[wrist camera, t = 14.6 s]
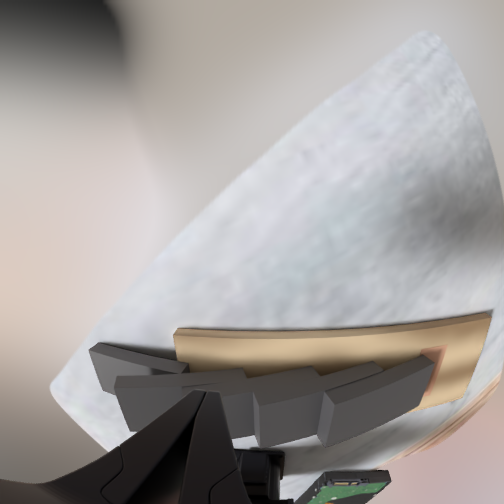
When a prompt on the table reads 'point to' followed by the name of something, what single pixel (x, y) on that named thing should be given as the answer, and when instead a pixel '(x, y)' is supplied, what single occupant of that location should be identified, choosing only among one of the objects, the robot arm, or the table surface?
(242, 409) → the domino
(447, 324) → the board
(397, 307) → the table surface
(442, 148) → the table surface
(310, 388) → the domino
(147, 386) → the domino
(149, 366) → the domino
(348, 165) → the table surface
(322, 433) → the domino
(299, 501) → the disk drive
